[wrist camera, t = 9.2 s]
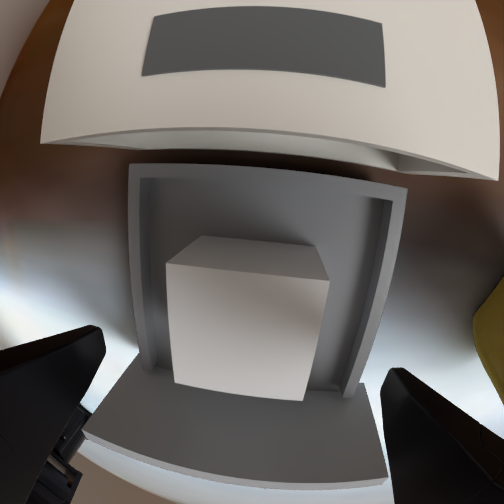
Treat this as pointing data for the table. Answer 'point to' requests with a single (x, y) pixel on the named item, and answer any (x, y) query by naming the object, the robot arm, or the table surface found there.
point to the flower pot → (491, 337)
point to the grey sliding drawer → (328, 346)
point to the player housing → (281, 81)
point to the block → (245, 315)
